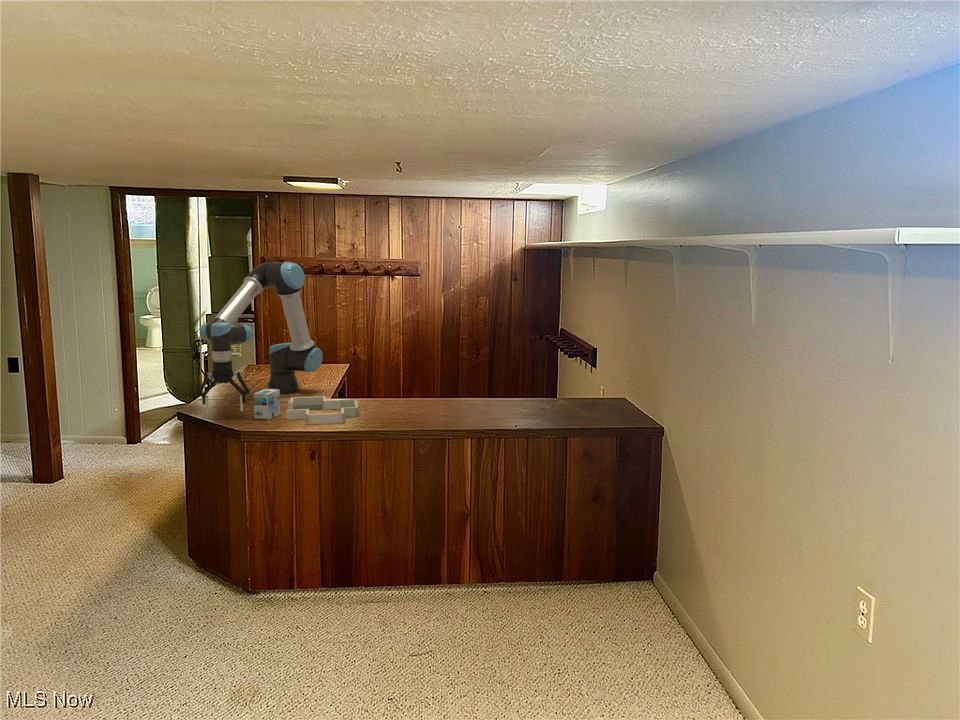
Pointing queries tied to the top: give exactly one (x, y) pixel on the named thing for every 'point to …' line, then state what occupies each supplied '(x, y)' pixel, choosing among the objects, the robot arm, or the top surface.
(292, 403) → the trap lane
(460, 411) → the top surface
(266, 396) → the light bulb box
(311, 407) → the mats
